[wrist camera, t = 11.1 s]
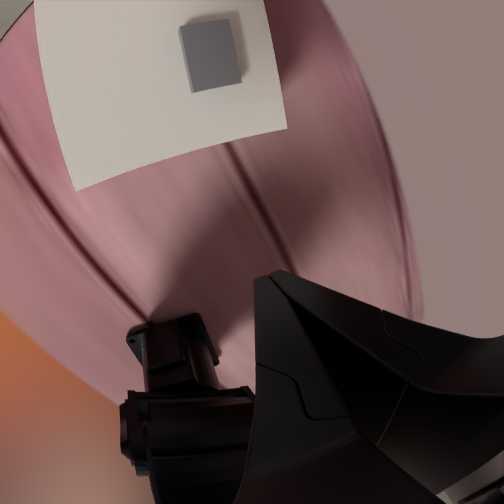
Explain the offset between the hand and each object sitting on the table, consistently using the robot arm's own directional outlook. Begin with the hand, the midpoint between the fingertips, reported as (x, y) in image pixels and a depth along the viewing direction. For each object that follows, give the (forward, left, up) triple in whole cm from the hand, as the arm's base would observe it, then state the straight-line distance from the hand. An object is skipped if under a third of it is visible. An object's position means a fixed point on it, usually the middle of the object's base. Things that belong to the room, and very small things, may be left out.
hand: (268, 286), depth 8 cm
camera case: (+10, +1, -12) cm, 16 cm away
